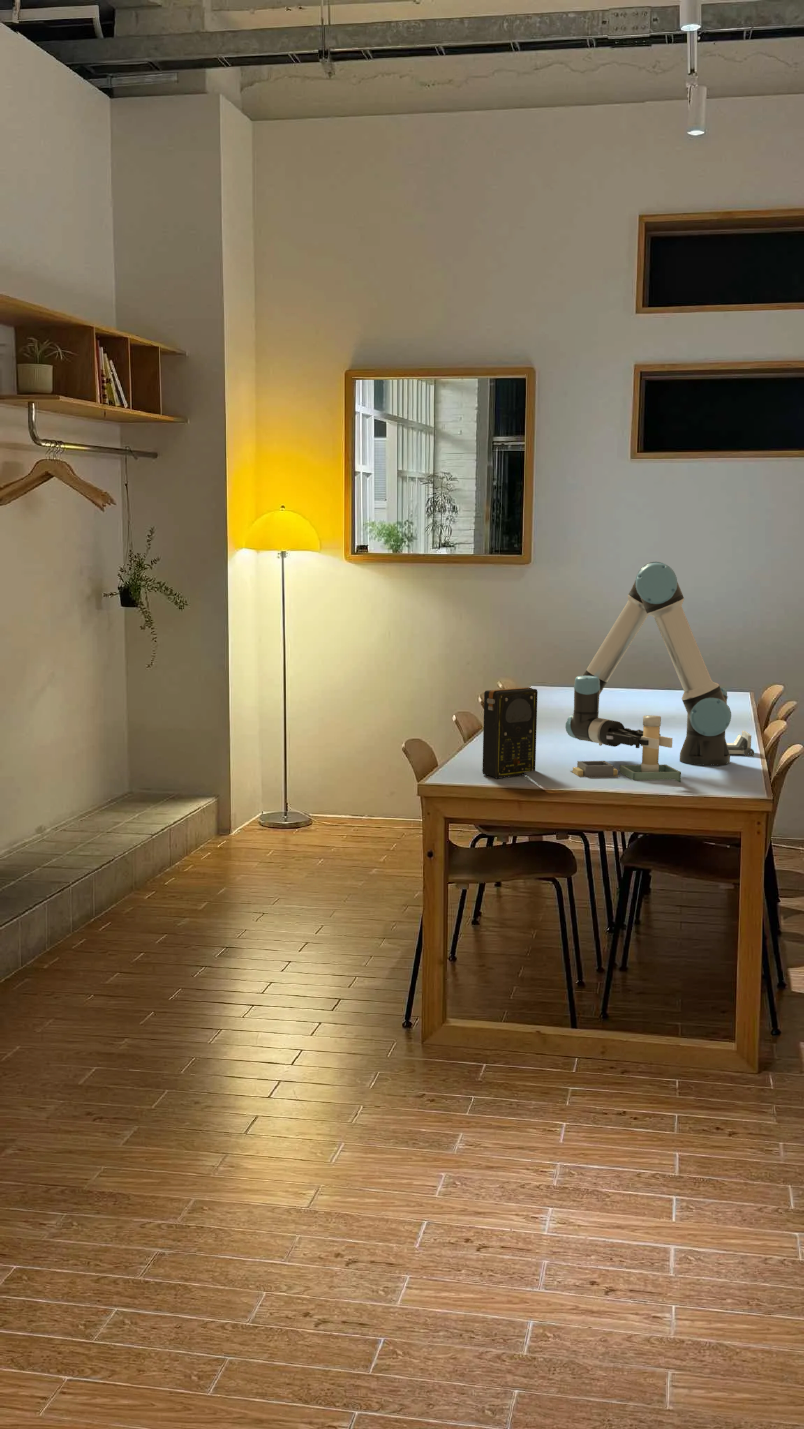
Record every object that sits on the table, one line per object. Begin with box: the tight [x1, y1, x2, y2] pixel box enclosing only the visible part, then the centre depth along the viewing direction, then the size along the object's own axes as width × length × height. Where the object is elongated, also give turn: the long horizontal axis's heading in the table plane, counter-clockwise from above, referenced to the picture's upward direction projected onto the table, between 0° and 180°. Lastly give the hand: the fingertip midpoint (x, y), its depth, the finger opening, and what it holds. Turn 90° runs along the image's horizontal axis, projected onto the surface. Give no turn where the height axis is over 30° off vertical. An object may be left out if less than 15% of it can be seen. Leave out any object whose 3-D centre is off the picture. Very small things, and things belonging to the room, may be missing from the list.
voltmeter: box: [482, 686, 539, 780], centre depth 380 cm, size 16×9×25 cm, turn 126°
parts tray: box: [619, 764, 682, 783], centre depth 378 cm, size 14×12×3 cm
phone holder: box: [726, 730, 755, 757], centre depth 424 cm, size 18×10×12 cm
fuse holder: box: [569, 760, 621, 778], centre depth 379 cm, size 12×10×4 cm
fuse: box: [640, 714, 662, 772], centre depth 377 cm, size 5×5×16 cm
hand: (664, 743), depth 372 cm, fingers closed on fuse, 4 cm apart
